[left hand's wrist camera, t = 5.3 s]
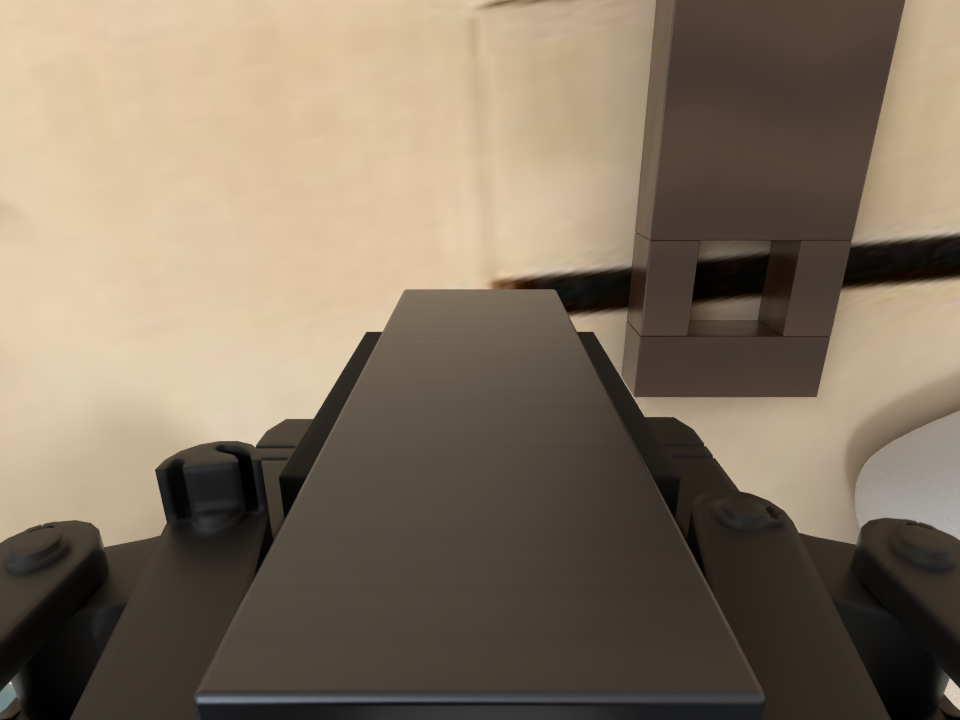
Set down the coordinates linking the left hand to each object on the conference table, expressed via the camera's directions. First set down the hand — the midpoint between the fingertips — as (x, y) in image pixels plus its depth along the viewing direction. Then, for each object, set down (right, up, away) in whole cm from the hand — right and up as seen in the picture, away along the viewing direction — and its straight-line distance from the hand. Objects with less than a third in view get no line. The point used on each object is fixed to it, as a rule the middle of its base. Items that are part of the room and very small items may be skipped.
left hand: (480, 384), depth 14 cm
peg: (0, +1, +2) cm, 2 cm away
